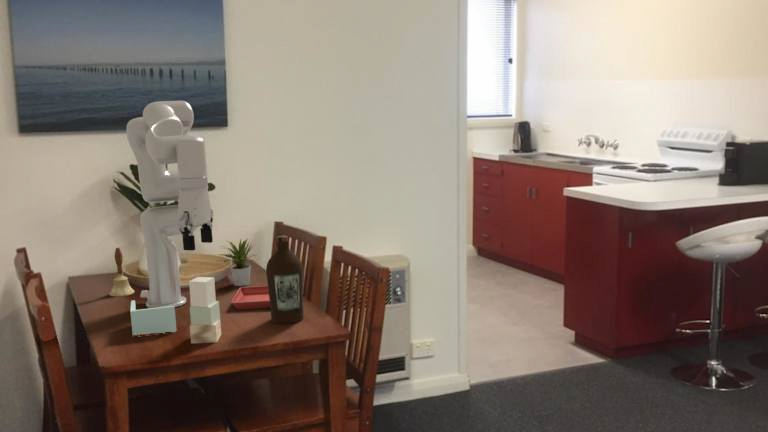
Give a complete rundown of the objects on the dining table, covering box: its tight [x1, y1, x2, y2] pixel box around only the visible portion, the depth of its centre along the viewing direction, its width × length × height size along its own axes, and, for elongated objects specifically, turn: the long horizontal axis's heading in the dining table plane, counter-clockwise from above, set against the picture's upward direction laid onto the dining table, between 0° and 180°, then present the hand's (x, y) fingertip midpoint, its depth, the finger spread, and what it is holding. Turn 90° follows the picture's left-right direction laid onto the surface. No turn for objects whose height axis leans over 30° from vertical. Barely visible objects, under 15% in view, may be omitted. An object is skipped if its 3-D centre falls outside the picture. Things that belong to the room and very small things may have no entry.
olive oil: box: [265, 235, 304, 325], centre depth 235 cm, size 11×11×25 cm
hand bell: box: [108, 247, 136, 297], centre depth 273 cm, size 8×8×16 cm
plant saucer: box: [230, 285, 270, 310], centre depth 257 cm, size 18×18×3 cm
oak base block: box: [189, 318, 222, 344], centre depth 222 cm, size 7×7×5 cm
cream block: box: [188, 276, 217, 307], centre depth 220 cm, size 5×5×7 cm
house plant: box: [218, 237, 256, 287], centre depth 280 cm, size 14×14×16 cm
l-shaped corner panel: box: [129, 299, 178, 336], centre depth 233 cm, size 12×12×8 cm
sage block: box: [189, 300, 221, 325], centre depth 221 cm, size 6×6×5 cm
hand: (198, 246), depth 218 cm, fingers open, 9 cm apart
